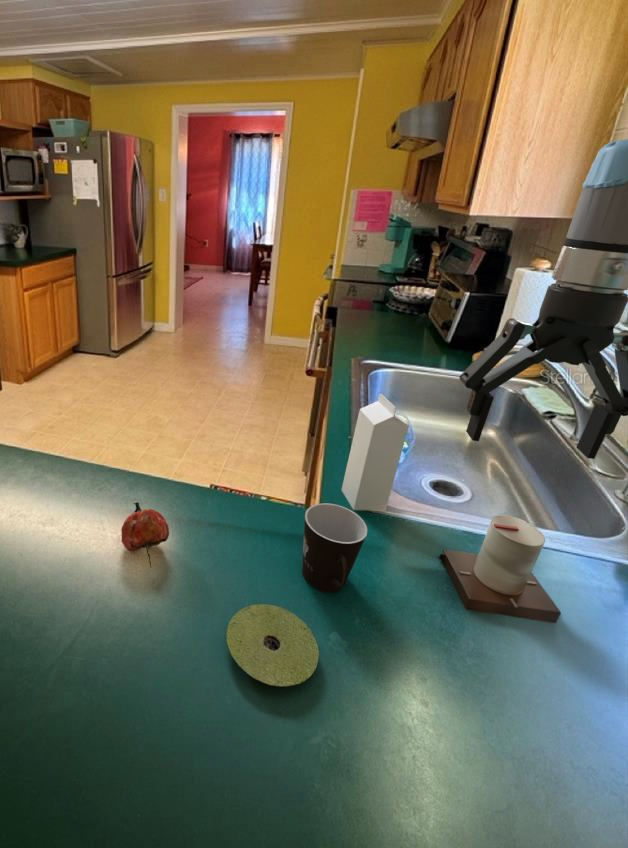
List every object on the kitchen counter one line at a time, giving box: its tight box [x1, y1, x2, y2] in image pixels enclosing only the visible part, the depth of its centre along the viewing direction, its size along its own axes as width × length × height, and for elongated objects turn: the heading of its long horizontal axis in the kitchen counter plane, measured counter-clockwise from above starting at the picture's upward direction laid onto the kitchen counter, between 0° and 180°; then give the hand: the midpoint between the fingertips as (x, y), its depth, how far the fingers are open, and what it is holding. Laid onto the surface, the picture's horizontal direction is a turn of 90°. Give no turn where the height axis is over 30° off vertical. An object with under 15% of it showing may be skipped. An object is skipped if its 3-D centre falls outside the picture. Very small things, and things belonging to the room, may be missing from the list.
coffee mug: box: [301, 502, 368, 593], centre depth 68 cm, size 12×9×10 cm
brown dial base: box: [439, 548, 562, 624], centre depth 70 cm, size 12×11×2 cm
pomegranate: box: [120, 501, 170, 568], centre depth 73 cm, size 7×7×10 cm
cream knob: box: [473, 514, 546, 595], centre depth 68 cm, size 6×6×9 cm
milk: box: [341, 393, 410, 512], centre depth 83 cm, size 6×6×22 cm
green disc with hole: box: [226, 603, 320, 687], centre depth 58 cm, size 11×11×2 cm
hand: (527, 444), depth 63 cm, fingers open, 13 cm apart
